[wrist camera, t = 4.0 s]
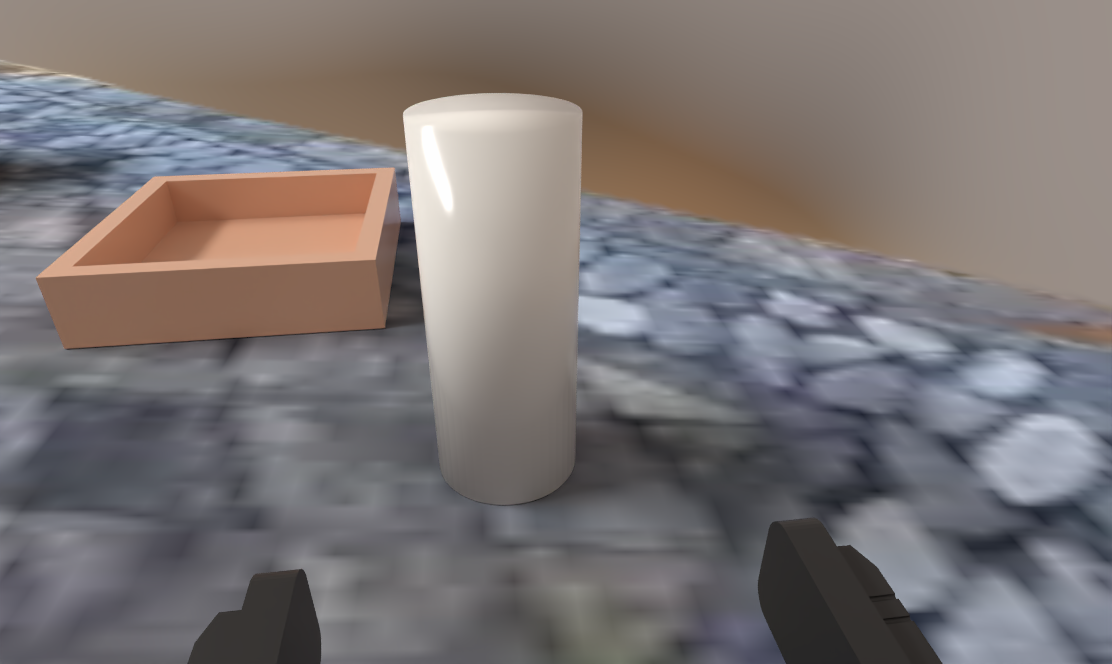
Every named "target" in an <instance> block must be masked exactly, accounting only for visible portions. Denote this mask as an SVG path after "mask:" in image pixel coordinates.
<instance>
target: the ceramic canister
mask: <svg viewBox="0 0 1112 664" xmlns="http://www.w3.org/2000/svg"><path fill="white" fill-rule="evenodd" d="M403 119H404V129H405V139H406V149H407V158H408V168H409V177H410V187H411V196H412V206H413V215H414V225H415V234H416V244H417V253H418V263H419V272H420V282H421V291H422V301H423V310H424V320H425V329H426V339H427V348H428V358H429V367H430V377H431V386H432V396H433V405H434V415H435V424H436V434H437V443H438V453H439V462H440V470H441V473H442V476H443V478H444V479H445V481H446V482H447V483H448V485H449V486H450V487H451V488H452V489H454V490H455V491H456V492H458V493H459V494H461V495H463V496H465V497H467V498H469V499H471V500H474V501H477V502H481V503H486V504H493V505H514V504H521V503H526V502H530V501H534V500H537V499H540V498H542V497H544V496H546V495H548V494H550V493H552V492H553V491H555V490H556V489H558V488H559V487H560V486H561V485H562V484H563V483H564V482H565V481H566V480H567V479H568V478H569V476H570V475H571V473H572V471H573V468H574V465H575V448H576V398H577V348H578V299H579V249H580V199H581V150H582V110H581V108H580V107H579V106H577V105H575V104H573V103H571V102H568V101H565V100H561V99H557V98H552V97H546V96H539V95H529V94H511V93H488V94H487V93H485V94H468V95H457V96H450V97H443V98H438V99H433V100H428V101H425V102H421V103H418V104H416V105H413V106H411V107H409V108H407V109H406V110H405V111H404V113H403Z"/></svg>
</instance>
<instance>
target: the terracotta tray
mask: <svg viewBox="0 0 1112 664" xmlns="http://www.w3.org/2000/svg"><path fill="white" fill-rule="evenodd" d="M400 224H401V218H400V210H399V201H398V192H397V184H396V175H395V168H372V169H345V170H319V171H293V172H266V173H240V174H214V175H187V176H161V177H153V178H152V179H151V180H150V181H149V182H147V183H146V184H145V185H144V186H143V187H142V188H140V189H139V190H138V191H137V192H136V193H135V194H133V195H132V196H131V197H130V198H129V199H127V200H126V201H125V202H124V203H123V204H122V205H120V206H119V207H118V208H117V209H116V210H115V211H113V212H112V213H111V214H110V215H109V216H107V217H106V218H105V219H104V220H103V221H102V222H100V223H99V224H98V225H97V226H96V227H95V228H93V229H92V230H91V231H90V232H89V233H88V234H86V235H85V236H84V237H83V238H82V239H80V240H79V241H78V242H77V243H76V244H75V245H73V246H72V247H71V248H70V249H69V250H68V251H66V252H65V253H64V254H63V255H62V256H60V257H59V258H58V259H57V260H56V261H55V262H53V263H52V264H51V265H50V266H49V267H48V268H46V269H45V270H44V271H43V272H42V273H41V274H39V275H38V276H37V277H36V280H37V283H38V285H39V287H40V290H41V292H42V295H43V297H44V300H45V302H46V305H47V307H48V310H49V312H50V314H51V317H52V319H53V322H54V324H55V327H56V329H57V332H58V334H59V336H60V339H61V341H62V344H63V346H64V349H70V348H85V347H101V346H116V345H132V344H147V343H163V342H178V341H193V340H209V339H224V338H240V337H255V336H270V335H286V334H301V333H317V332H332V331H347V330H363V329H378V328H385V324H386V317H387V311H388V304H389V297H390V291H391V284H392V277H393V270H394V264H395V257H396V250H397V244H398V237H399V230H400Z"/></svg>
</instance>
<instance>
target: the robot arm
mask: <svg viewBox="0 0 1112 664" xmlns="http://www.w3.org/2000/svg"><path fill="white" fill-rule="evenodd" d="M758 594H759V600H760V605H761V608H762V612H763V614H764V617H765V619H766V621H767V623H768V626H769V628H770V630H771V632H772V634H773V636H774V638H775V641H776V643H777V645H778V647H779V649H780V651H781V653H782V656H783V658H784V660H785V662H786V664H942V662H941V661H940V659H939V658H938V656H937V655H936V653H935V652H934V650H933V649H932V647H931V646H930V644H929V643H928V642H927V640H926V639H925V637H924V636H923V634H922V633H921V631H920V630H919V628H918V627H917V625H916V624H915V622H914V621H911V620H910V615H909V614H908V612H907V611H906V609H905V608H904V606H903V605H902V603H901V602H900V600H899V599H896V598H895V593H894V591H893V590H892V588H891V587H890V586H889V584H888V583H887V581H886V580H885V578H884V577H883V575H882V574H881V572H880V571H879V569H878V568H877V567H876V566H875V565H874V564H873V563H871V562H870V561H869V560H868V559H867V558H865V557H864V556H863V555H862V554H860V553H859V552H858V551H857V550H856V549H854V548H853V547H852V546H851V545H847V546H838V547H837V546H836V544H835V543H834V541H833V540H832V538H831V537H830V535H829V533H828V532H827V530H826V529H825V527H824V526H823V524H822V523H821V522H820V521H819V520H818V519H816V518H806V519H796V520H786V521H777V522H773V523H772V524H771V525H770V527H769V531H768V536H767V541H766V545H765V550H764V555H763V560H762V564H761V569H760V574H759V579H758ZM320 662H321V635H320V628H319V624H318V620H317V616H316V612H315V608H314V604H313V600H312V596H311V592H310V589H309V585H308V581H307V577H306V574H305V572H304V570H302V569H299V570H289V571H279V572H270V573H260V574H255V575H254V576H253V577H252V579H251V581H250V584H249V587H248V590H247V594H246V597H245V600H244V604H243V607H242V610H237V611H228V612H219V613H218V614H217V615H216V617H215V618H214V619H213V620H212V622H211V623H210V624H209V626H208V627H207V628H206V629H205V631H204V632H203V633H202V634H201V636H200V637H199V638H198V640H197V641H196V642H195V644H194V647H193V650H192V652H191V655H190V658H189V661H188V664H320Z"/></svg>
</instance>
